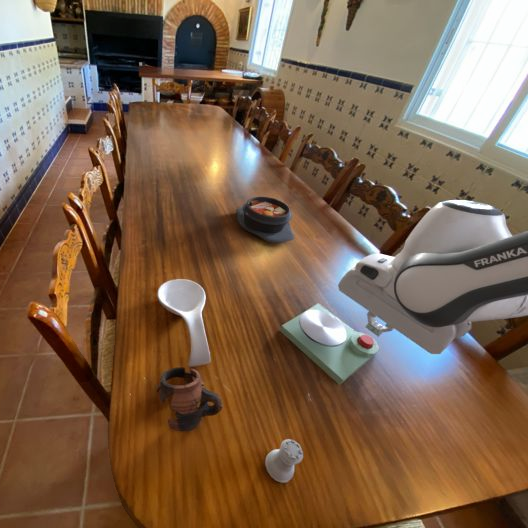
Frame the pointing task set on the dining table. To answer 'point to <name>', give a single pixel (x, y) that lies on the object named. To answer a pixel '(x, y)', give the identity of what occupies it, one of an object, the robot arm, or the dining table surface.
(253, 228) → the casserole
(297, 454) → the rook chess piece
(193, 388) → the pottery mug
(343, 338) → the pan
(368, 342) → the tare button
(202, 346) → the spoon rest
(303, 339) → the scale
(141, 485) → the dining table surface
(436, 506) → the dining table surface
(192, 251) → the dining table surface
